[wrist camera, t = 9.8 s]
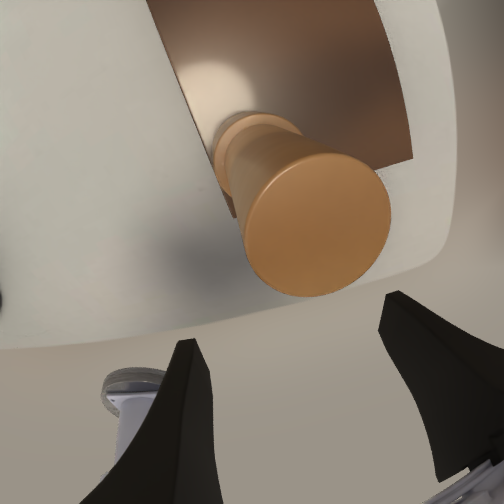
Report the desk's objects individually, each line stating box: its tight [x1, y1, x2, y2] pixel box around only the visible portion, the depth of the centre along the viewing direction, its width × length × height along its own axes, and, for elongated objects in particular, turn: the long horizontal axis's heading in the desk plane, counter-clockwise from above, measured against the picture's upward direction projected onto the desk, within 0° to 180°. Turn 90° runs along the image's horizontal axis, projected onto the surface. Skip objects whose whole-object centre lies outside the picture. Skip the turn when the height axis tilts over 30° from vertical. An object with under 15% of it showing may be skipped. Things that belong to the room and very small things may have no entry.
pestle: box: [213, 111, 391, 297], centre depth 9 cm, size 4×4×9 cm
